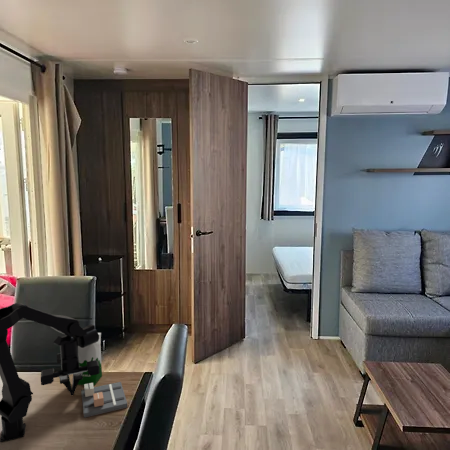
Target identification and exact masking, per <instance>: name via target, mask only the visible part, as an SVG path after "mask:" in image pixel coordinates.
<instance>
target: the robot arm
mask: <svg viewBox="0 0 450 450" xmlns="http://www.w3.org/2000/svg"><path fill="white" fill-rule="evenodd" d="M22 319H23V320H28V321H31V322H33V323H37V324H41V325H44V326H47V327H50V329H53V330H54V331H56V332H58V333H60V334H62V335H64V336H60V335H58V336H57V337H56V339H54V341H52V343H53V344H54V345H57V346H59V352H60V353H57V354H56V363H57V365H58V364H61V367H60V368H61V370H57V371H55V369H54V368H53V367H52V368H47V369H43V370H41V372H40V385H41V386H45V385H51V384H52V383H54V381H55V380H54V378H58V379H59V384H63V385H64V386H65V388H66V389H67V391H68V393H69V394H70V396H74V394H75V392H76V390H77V386H78V385H77V384H78V382H79V380H82V379H83V376H82V374H83V372H87V371H88V374H89V375H90V376H91V375H96V374H99V373H100V368H99V363H98V361H97V360H94V361H89V362H87V366H82V367H81V366H79V354H78V346H80V347H81V348H84V347H86V346H89V345H91V344H93V343H96V342H98V340H99V334H98V333H99V332H98V329H96V326H95V325H94V324H92V323H91V324H89V325H87V326H85V327H81V326H80V325H81V324H80V321H79V320H78V319H75V318H73V317H71V316H67V315H63V314H61V315H60V314H51V313H48V312H45V311H43V310H39V309H38V308H37V309H36V308H34V307H30V306H28V305H26V304H24V303H21V302H15V303H13V304H10V305H8V306H6V307H5V306H4V307H1V308H0V379H1V382H2V388H1V397H2V398H1V399H0V416H1V419H0V420H1V428H2V429H1V434H0V443H4V442H8V441H10V440H16V439H20V438H23V437H25V434H26V428H27V427H26V426H27V423H26V422H24V419H23V418H24V417H26V416H27V415H28V410H29V407H30V404H31V402H32V400H33V398H32V395H34V392H32V390H31V389H32V388H31V384H30V383H29V382H28V381H26V380H25V379H22V378H21V377H20V376H19V374H18V370H17V368H16V365H15V362H14V360H13V356H12V353H11V351H10V347H9V345H8V341H7V340H8V339H7V338H8V334H9V332H8V331H9V329H11V328H12V327H13V326H15V325H16V324H17V323H18V322H19V321H21V320H22ZM71 375H72V383H71V380H70V376H71Z"/></svg>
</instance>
